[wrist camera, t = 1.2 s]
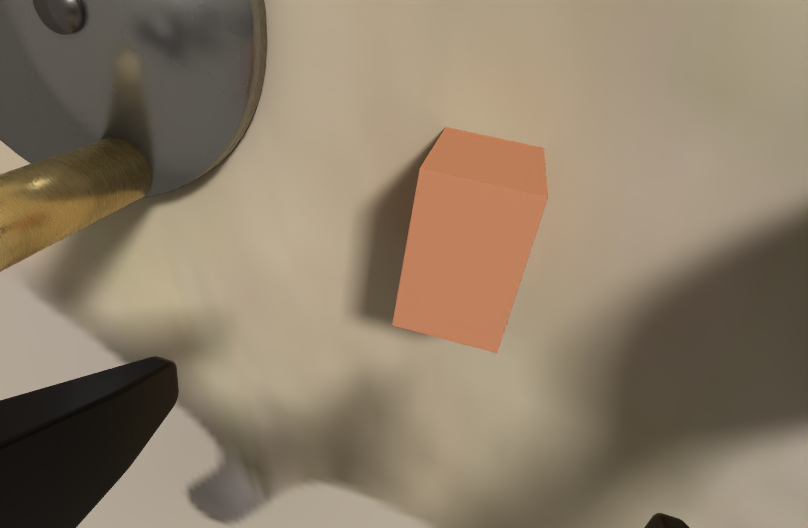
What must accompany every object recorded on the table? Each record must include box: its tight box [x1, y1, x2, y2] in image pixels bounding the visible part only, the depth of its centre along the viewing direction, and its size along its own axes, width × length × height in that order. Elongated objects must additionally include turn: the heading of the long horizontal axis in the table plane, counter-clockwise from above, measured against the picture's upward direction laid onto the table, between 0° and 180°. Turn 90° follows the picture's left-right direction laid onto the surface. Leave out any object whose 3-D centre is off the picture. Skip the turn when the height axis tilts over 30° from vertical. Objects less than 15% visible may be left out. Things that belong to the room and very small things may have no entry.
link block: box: [392, 127, 548, 353], centre depth 17 cm, size 4×6×5 cm, turn 171°
